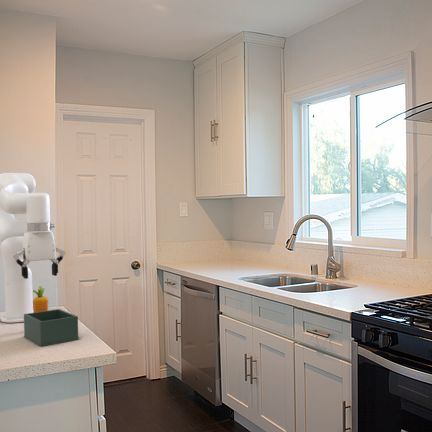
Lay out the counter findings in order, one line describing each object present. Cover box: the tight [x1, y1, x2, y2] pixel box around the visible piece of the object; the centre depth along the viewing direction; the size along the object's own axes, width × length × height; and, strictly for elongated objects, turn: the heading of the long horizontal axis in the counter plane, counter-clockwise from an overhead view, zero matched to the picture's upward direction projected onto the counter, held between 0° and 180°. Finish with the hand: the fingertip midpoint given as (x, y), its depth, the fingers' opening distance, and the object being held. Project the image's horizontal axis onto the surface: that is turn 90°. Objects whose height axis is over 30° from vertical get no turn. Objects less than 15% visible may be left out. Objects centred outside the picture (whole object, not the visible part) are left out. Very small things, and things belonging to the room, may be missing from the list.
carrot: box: [32, 285, 49, 313], centre depth 190 cm, size 5×5×15 cm
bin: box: [23, 308, 79, 347], centre depth 177 cm, size 17×12×8 cm
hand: (40, 276), depth 189 cm, fingers open, 9 cm apart
